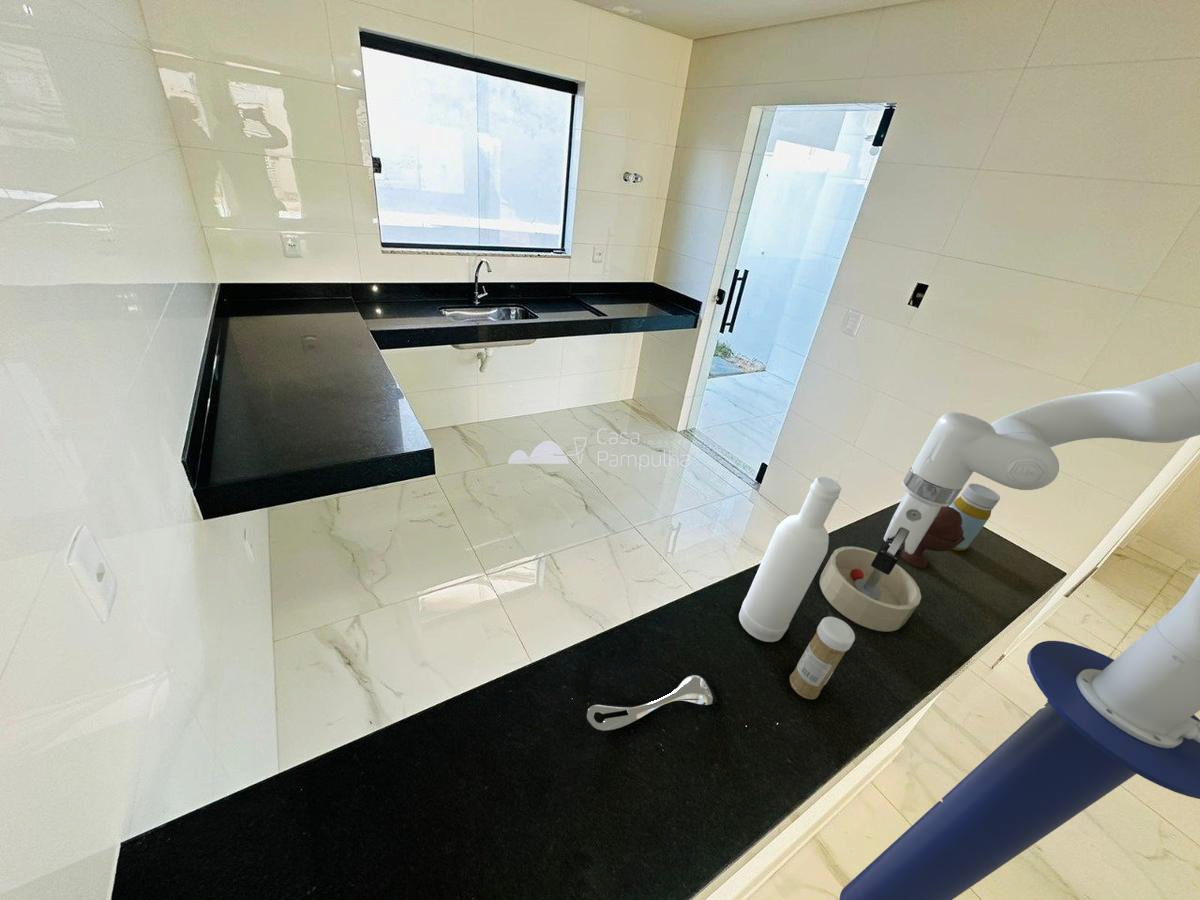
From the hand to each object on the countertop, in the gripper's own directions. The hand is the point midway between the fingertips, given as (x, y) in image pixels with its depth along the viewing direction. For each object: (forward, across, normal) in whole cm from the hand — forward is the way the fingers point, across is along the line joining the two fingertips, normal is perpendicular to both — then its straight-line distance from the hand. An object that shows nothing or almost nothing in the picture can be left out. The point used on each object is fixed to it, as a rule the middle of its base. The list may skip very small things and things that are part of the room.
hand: (881, 566), depth 85 cm
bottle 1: (+9, -22, +11) cm, 26 cm away
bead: (+7, +3, +3) cm, 8 cm away
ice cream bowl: (+9, +23, -5) cm, 25 cm away
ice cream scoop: (+8, -48, +15) cm, 52 cm away
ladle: (+8, 0, 0) cm, 8 cm away
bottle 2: (+9, +38, -10) cm, 40 cm away
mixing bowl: (+8, 0, 0) cm, 8 cm away
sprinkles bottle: (+9, -28, +1) cm, 29 cm away
